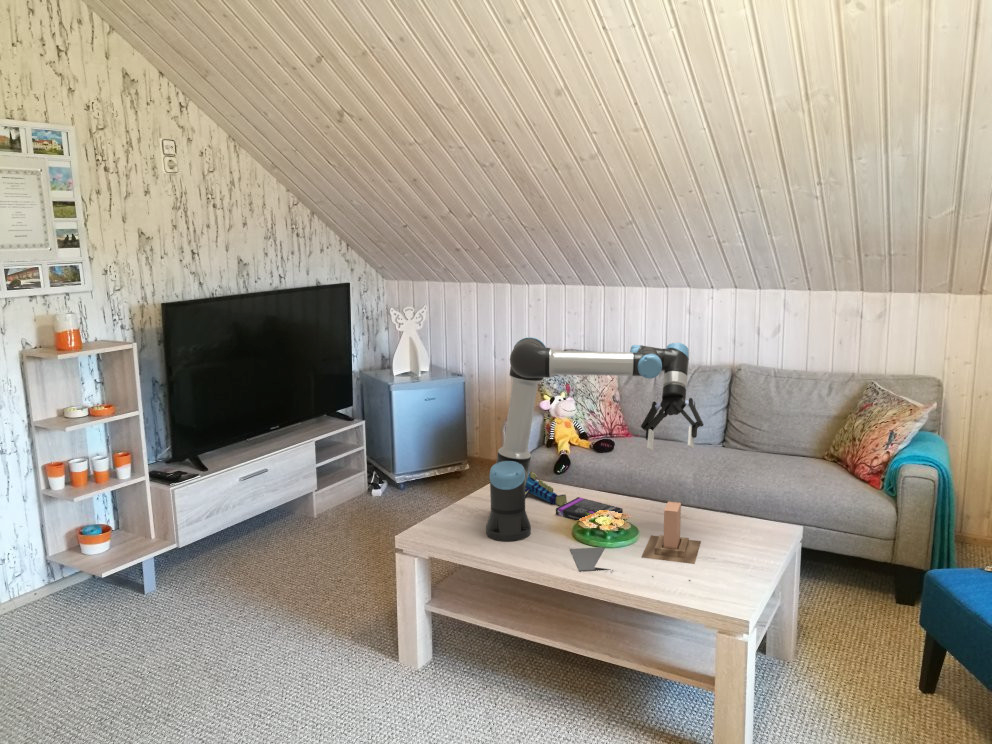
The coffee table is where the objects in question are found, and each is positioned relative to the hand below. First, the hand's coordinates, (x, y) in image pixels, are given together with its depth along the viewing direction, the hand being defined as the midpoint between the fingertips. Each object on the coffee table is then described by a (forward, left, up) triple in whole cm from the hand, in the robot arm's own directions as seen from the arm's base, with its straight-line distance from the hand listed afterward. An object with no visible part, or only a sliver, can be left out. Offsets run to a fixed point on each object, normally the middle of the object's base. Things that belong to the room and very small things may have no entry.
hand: (669, 448), depth 253 cm
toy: (-34, +46, -32) cm, 66 cm away
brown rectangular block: (-1, -8, -30) cm, 31 cm away
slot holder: (-1, -8, -32) cm, 33 cm away
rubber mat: (-24, -9, -32) cm, 41 cm away
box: (-20, +28, -32) cm, 47 cm away
